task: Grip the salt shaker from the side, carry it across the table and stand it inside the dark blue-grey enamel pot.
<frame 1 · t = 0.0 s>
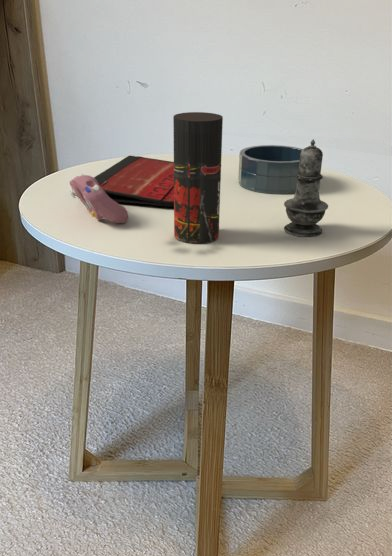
salt shaker: (303, 231, 82), on the table
deodorant: (196, 237, 80), on the table
video game controller: (98, 217, 86), on the table
pot: (273, 183, 101), on the table
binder: (150, 187, 99), on the table
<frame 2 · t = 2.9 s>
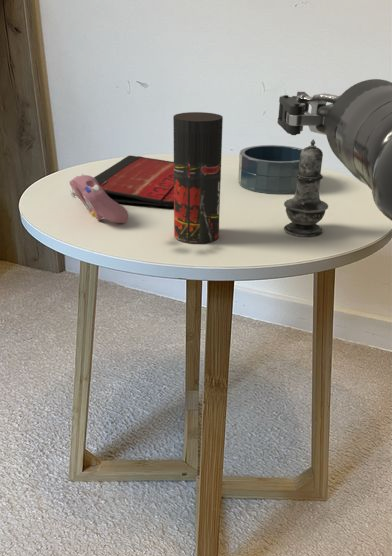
hand: (339, 102, 63), 18 cm above the table, tool horizontal, fingers open, 8 cm apart
nothing on the table moved.
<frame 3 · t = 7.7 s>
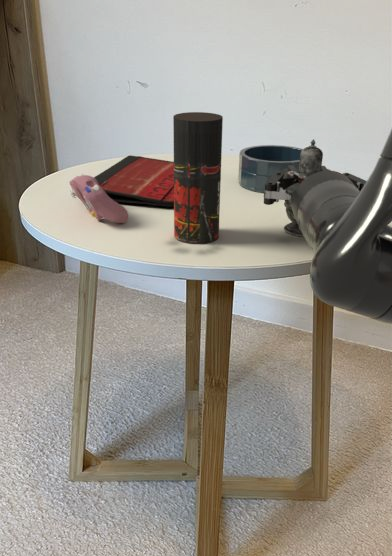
hand: (305, 173, 81), 7 cm above the table, tool horizontal, fingers closed on salt shaker, 3 cm apart
salt shaker: (303, 231, 82), on the table, touching gripper
everything else where it was.
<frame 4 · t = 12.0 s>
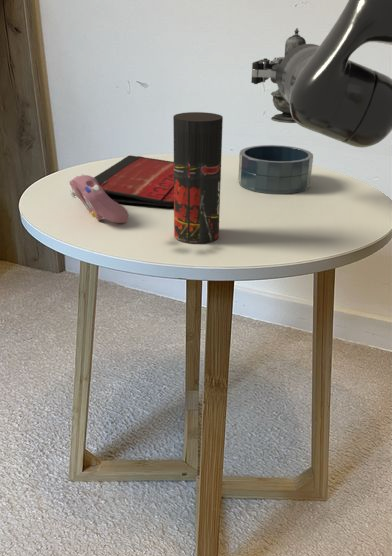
hand: (290, 65, 88), 19 cm above the table, tool horizontal, fingers closed on salt shaker, 3 cm apart
salt shaker: (288, 121, 89), point 11 cm above the table, touching gripper
everything else where it was.
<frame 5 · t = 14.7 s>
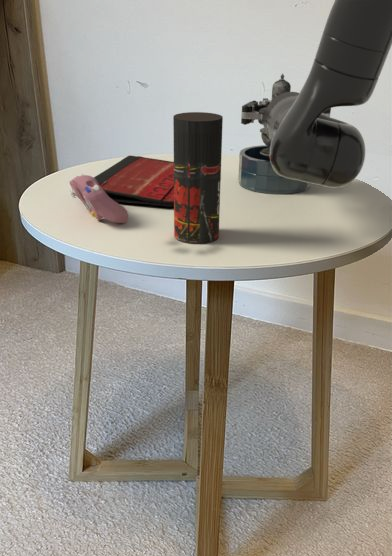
hand: (277, 105, 97), 12 cm above the table, tool horizontal, fingers closed on salt shaker, 3 cm apart
salt shaker: (275, 154, 99), point 5 cm above the table, touching gripper
everything else where it was.
when the fingers open (7 cm above the table, at t = 16.4 s): salt shaker stays where it is, resting on pot.
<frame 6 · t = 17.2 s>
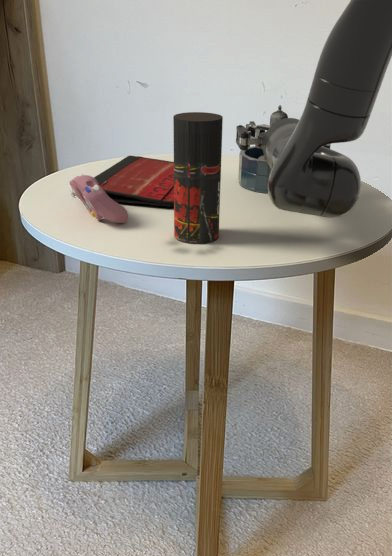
hand: (277, 128, 99), 9 cm above the table, tool horizontal, fingers open, 8 cm apart
salt shaker: (273, 182, 101), resting on pot
everything else where it was.
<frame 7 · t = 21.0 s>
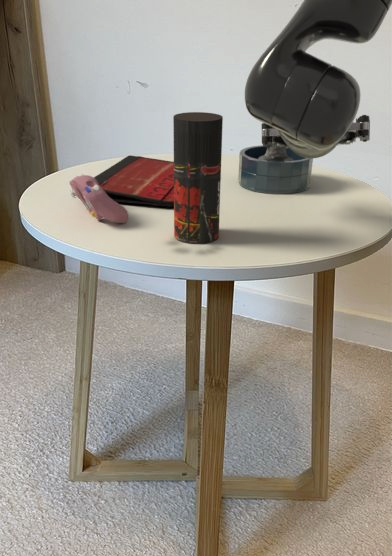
hand: (317, 138, 87), 10 cm above the table, tool tilted 70°, fingers open, 8 cm apart
nothing on the table moved.
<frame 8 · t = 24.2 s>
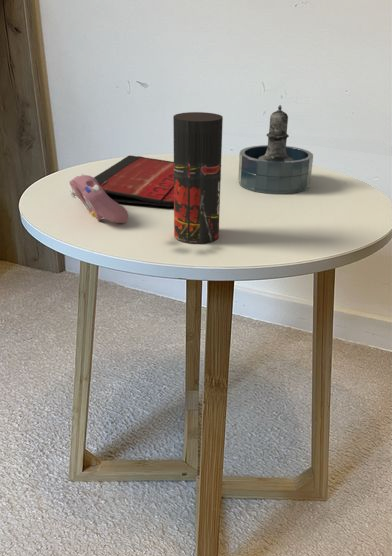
nothing on the table moved.
at the end: salt shaker inside the target area in the pot (0.2 cm from its centre), point 0.3 cm above the pot's base; salt shaker tilted 0°; the gripper is holding nothing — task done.
